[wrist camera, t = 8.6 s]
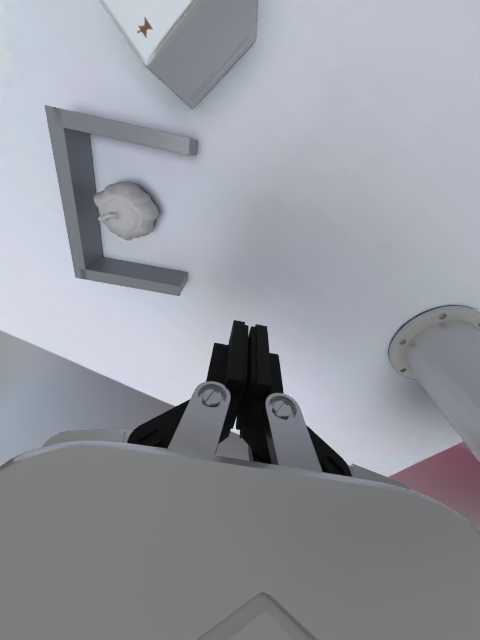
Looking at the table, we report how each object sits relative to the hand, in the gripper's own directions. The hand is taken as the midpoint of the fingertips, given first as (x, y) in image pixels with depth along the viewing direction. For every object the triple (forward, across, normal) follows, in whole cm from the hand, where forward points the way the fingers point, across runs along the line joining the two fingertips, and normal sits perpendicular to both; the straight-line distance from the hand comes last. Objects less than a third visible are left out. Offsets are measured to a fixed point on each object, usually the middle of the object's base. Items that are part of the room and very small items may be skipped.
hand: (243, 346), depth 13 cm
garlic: (+19, +13, -1) cm, 23 cm away
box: (+19, +12, -1) cm, 23 cm away
